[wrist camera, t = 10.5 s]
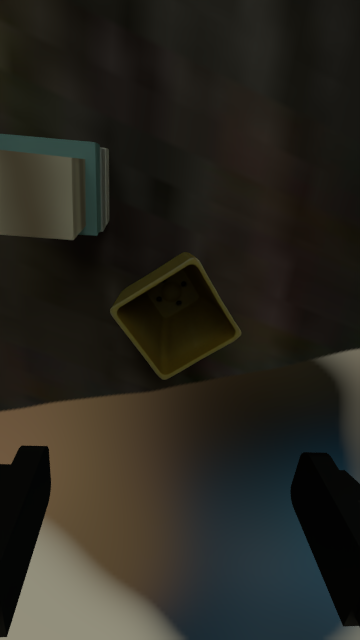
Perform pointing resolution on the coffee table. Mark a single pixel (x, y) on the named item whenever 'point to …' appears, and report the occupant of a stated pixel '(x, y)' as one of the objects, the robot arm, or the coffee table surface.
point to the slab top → (73, 150)
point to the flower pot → (175, 316)
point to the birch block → (41, 195)
